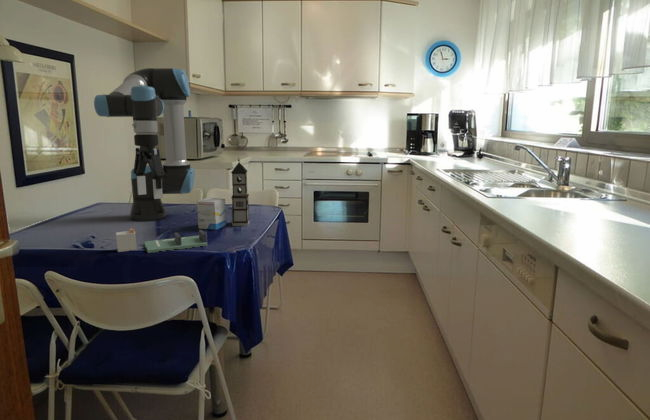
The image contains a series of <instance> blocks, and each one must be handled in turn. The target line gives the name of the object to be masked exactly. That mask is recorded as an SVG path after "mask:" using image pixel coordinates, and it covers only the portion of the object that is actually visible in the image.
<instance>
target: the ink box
mask: <svg viewBox="0 0 650 420" xmlns="http://www.w3.org/2000/svg"><path fill="white" fill-rule="evenodd" d="M196 208H197V209H196V210H197V224H198V229H199V230H213V231H217V230H219V229H221V228H224V227H226V226H227V212H226V198H219V197H218V198H217V197H205V198H202V199H199V200H196Z"/></svg>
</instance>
